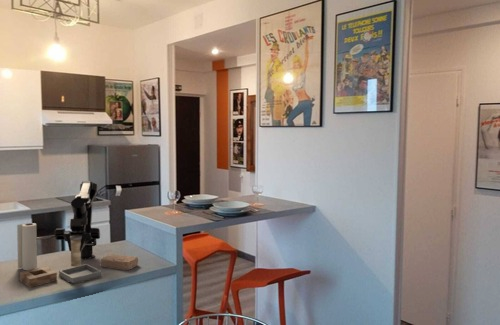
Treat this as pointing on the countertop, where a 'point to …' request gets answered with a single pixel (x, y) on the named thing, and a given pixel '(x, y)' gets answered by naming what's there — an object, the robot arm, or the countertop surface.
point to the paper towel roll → (27, 246)
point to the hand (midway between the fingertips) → (75, 250)
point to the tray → (79, 273)
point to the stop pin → (75, 250)
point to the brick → (119, 261)
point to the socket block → (38, 276)
